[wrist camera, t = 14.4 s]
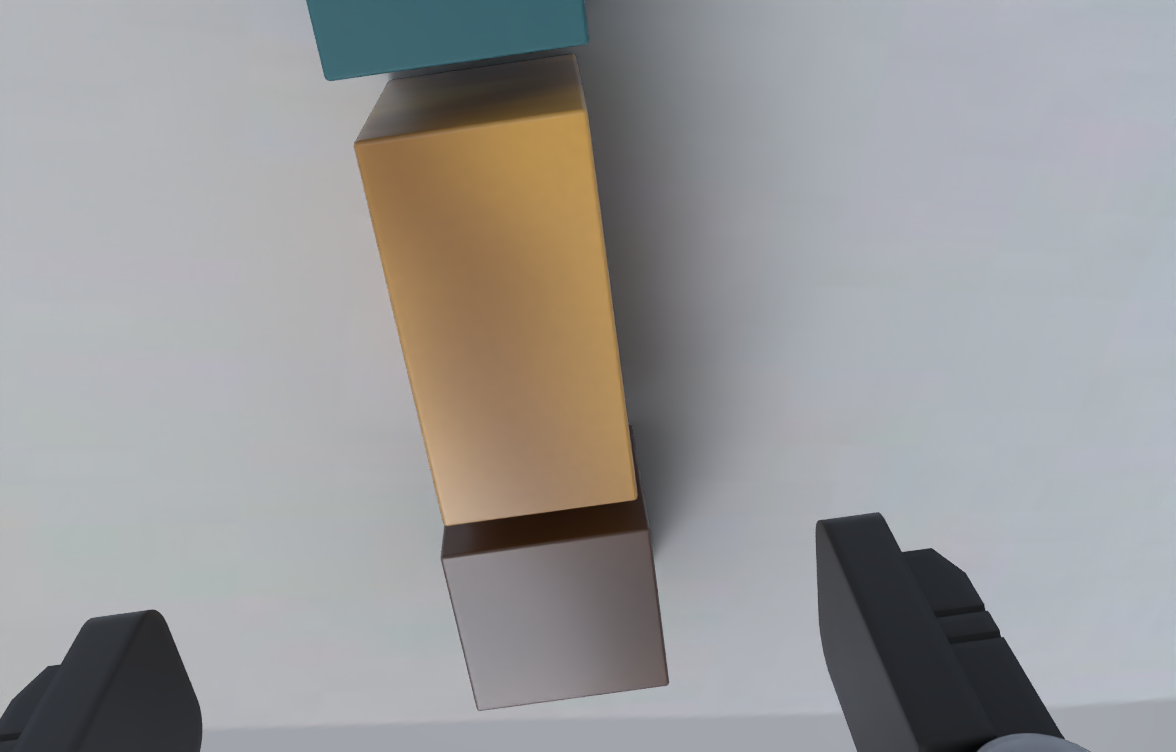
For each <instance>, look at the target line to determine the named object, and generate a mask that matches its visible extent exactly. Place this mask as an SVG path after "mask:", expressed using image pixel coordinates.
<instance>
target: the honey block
mask: <svg viewBox="0 0 1176 752" xmlns="http://www.w3.org/2000/svg"><path fill="white" fill-rule="evenodd" d="M354 149H355V153H356V158H357V162H358V166H359V170H360V174H361V179H362V183H363V187H364V191H365V196H366V200H367V204H368V208H369V212H370V217H371V221H372V225H373V229H374V233H375V238H376V242H377V246H378V250H379V255H380V259H381V263H382V267H383V271H384V276H385V280H386V284H387V288H388V293H389V297H390V301H391V305H392V309H393V314H394V318H395V322H396V326H397V330H398V335H399V339H400V343H401V347H402V352H403V356H404V360H405V364H406V368H407V373H408V377H409V381H410V385H411V389H412V394H413V398H414V402H415V406H416V411H417V415H418V419H419V423H420V427H421V432H422V436H423V440H424V444H425V448H426V453H427V457H428V461H429V465H430V470H431V474H432V478H433V482H434V486H435V491H436V495H437V499H438V503H439V508H440V512H441V516H442V520H443V523H444V524H445V525H446V526H451V525H458V524H465V523H472V522H480V521H487V520H494V519H501V518H509V517H516V516H523V515H530V514H538V513H545V512H552V511H560V510H567V509H574V508H581V507H589V506H596V505H603V504H610V503H618V502H625V501H632V500H635V499H637V496H638V493H637V486H636V478H635V470H634V463H633V455H632V447H631V440H630V432H629V424H628V417H627V409H626V401H625V394H624V386H623V378H622V371H621V363H620V355H619V347H618V340H617V332H616V324H615V317H614V309H613V301H612V294H611V286H610V278H609V271H608V263H607V255H606V248H605V240H604V232H603V225H602V217H601V209H600V202H599V194H598V186H597V179H596V171H595V163H594V155H593V148H592V140H591V132H590V125H589V117H588V111H587V106H586V101H585V97H584V92H583V87H582V83H581V78H580V73H579V69H578V64H577V59H576V57H575V55H572V54H569V55H562V56H556V57H549V58H542V59H535V60H528V61H521V62H514V63H507V64H500V65H493V66H486V67H479V68H472V69H465V70H458V71H451V72H444V73H438V74H431V75H424V76H417V77H410V78H403V79H396V80H390V81H389V82H388V83H387V85H386V86H385V88H384V90H383V92H382V94H381V95H380V97H379V99H378V101H377V103H376V104H375V106H374V108H373V110H372V112H371V114H370V115H369V117H368V119H367V121H366V123H365V124H364V126H363V128H362V130H361V132H360V133H359V135H358V137H357V139H356V141H355V142H354Z"/></svg>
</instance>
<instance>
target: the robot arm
mask: <svg viewBox="0 0 1176 752" xmlns="http://www.w3.org/2000/svg"><path fill="white" fill-rule="evenodd" d="M816 559H817V585H818V611H819V626H820V635H821V641H822V646H823V652H824V656H825V660H826V664H827V668H828V671H829V674H830V677H831V680H832V682H833V685H834V688H835V691H836V694H837V696H838V699H839V702H840V705H841V707H842V710H843V713H844V716H845V719H846V721H847V724H848V727H849V729H850V732H851V735H852V738H853V741H854V744H855V746H856V749H857V752H1090V751H1089V750H1087V749H1085V748H1083V747H1081V746H1079V745H1077V744H1075V743H1072V742H1070V741H1067V740H1065V738H1064V737H1063V736H1062V734H1061V733H1060V731H1059V729H1058V728H1057V726H1056V724H1055V723H1054V721H1053V719H1052V718H1051V716H1050V714H1049V712H1048V711H1047V709H1046V707H1045V706H1044V704H1043V702H1042V701H1041V699H1040V697H1039V696H1038V694H1037V692H1036V691H1035V689H1034V687H1033V686H1032V684H1031V682H1030V681H1029V679H1028V677H1027V676H1026V674H1025V672H1024V670H1023V669H1022V667H1021V665H1020V664H1019V662H1018V660H1017V659H1016V657H1015V655H1014V654H1013V652H1012V650H1011V649H1010V647H1009V645H1008V644H1007V642H1006V640H1005V639H1004V637H1002V638H1001V636H1000V630H999V628H998V627H997V625H996V623H995V622H994V620H993V618H992V617H991V615H990V613H989V612H988V611H985V607H984V603H983V602H982V600H981V598H980V597H979V595H978V593H977V592H976V590H975V588H974V587H973V585H972V583H971V581H970V580H969V578H968V576H967V575H966V573H965V572H963V571H962V570H961V569H959V568H958V567H957V566H955V565H954V564H952V563H951V562H950V561H948V560H947V559H946V558H944V557H943V556H942V555H940V554H939V553H938V552H936V551H935V550H933V549H932V548H929V549H922V550H915V551H907V552H901V550H900V548H899V546H898V544H897V542H896V540H895V538H894V536H893V534H892V532H891V531H890V529H889V527H888V525H887V523H886V521H885V519H884V518H883V516H882V515H881V514H880V513H879V512H878V513H870V514H862V515H855V516H848V517H840V518H833V519H826V520H818V521H817V524H816ZM201 741H202V717H201V710H200V706H199V703H198V700H197V697H196V695H195V692H194V690H193V687H192V685H191V682H190V680H189V677H188V675H187V672H186V670H185V667H184V665H183V662H182V660H181V657H180V655H179V652H178V650H177V647H176V645H175V642H174V640H173V637H172V635H171V632H170V630H169V627H168V625H167V623H166V621H165V619H164V617H163V616H162V615H161V614H160V613H159V612H158V611H156V610H146V611H139V612H131V613H124V614H117V615H109V616H102V617H95V618H91V619H89V620H88V621H87V622H86V623H85V624H84V625H83V627H82V628H81V630H80V632H79V634H78V635H77V637H76V639H75V641H74V642H73V644H72V646H71V648H70V649H69V651H68V653H67V655H66V656H65V658H64V660H63V662H62V663H61V665H54V666H48V667H47V668H46V669H44V670H43V671H42V672H41V673H40V674H39V675H38V676H37V677H36V678H35V679H34V680H33V681H32V682H31V683H30V684H28V685H27V686H26V687H25V688H24V689H23V690H22V691H21V692H20V693H19V694H18V695H17V696H16V697H15V698H14V699H12V701H11V702H10V704H9V706H8V707H7V709H6V710H5V712H4V714H3V715H2V717H1V719H0V752H200V748H201Z"/></svg>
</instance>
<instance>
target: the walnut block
mask: <svg viewBox="0 0 1176 752" xmlns="http://www.w3.org/2000/svg"><path fill="white" fill-rule="evenodd" d="M629 432H630V440H631V447H632V455H633V463H634V470H635V478H636V486H637V493H638V496H637V499H635V500H632V501H625V502H618V503H610V504H603V505H596V506H589V507H581V508H574V509H567V510H560V511H552V512H545V513H538V514H530V515H523V516H516V517H509V518H501V519H494V520H487V521H480V522H472V523H465V524H458V525H451V526H446V525H444V533H443V542H442V550H441V562H442V566H443V570H444V574H445V578H446V582H447V587H448V591H449V595H450V599H451V603H452V607H453V611H454V616H455V620H456V624H457V628H458V632H459V636H460V641H461V645H462V649H463V653H464V657H465V661H466V665H467V670H468V674H469V678H470V682H471V686H472V690H473V694H474V699H475V703H476V707H477V709H478V710H479V711H482V710H489V709H497V708H504V707H512V706H519V705H526V704H534V703H541V702H549V701H556V700H564V699H571V698H578V697H586V696H593V695H601V694H608V693H615V692H623V691H630V690H638V689H645V688H653V687H660V686H667V685H668V684H669V678H668V670H667V662H666V653H665V645H664V637H663V629H662V621H661V613H660V605H659V597H658V589H657V581H656V573H655V565H654V557H653V549H652V541H651V533H650V526H649V520H648V515H647V509H646V504H645V498H644V492H643V487H642V481H641V475H640V470H639V464H638V458H637V453H636V447H635V442H634V436H633V430H632V426H631V425H630V424H629Z"/></svg>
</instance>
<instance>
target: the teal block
mask: <svg viewBox="0 0 1176 752" xmlns="http://www.w3.org/2000/svg"><path fill="white" fill-rule="evenodd" d="M306 2H307V6H308V10H309V14H310V18H311V22H312V26H313V31H314V35H315V39H316V43H317V47H318V51H319V55H320V60H321V64H322V68H323V72H324V76H325V78H326V80H328V81H334V80H341V79H348V78H355V77H362V76H369V75H376V74H383V73H390V72H397V71H404V70H411V69H418V68H425V67H432V66H439V65H446V64H453V63H460V62H467V61H474V60H481V59H488V58H495V57H502V56H509V55H516V54H523V53H530V52H537V51H544V50H551V49H558V48H565V47H572V46H579V45H585V44H587V43H588V42H589V34H588V26H587V18H586V10H585V2H584V0H306Z"/></svg>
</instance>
